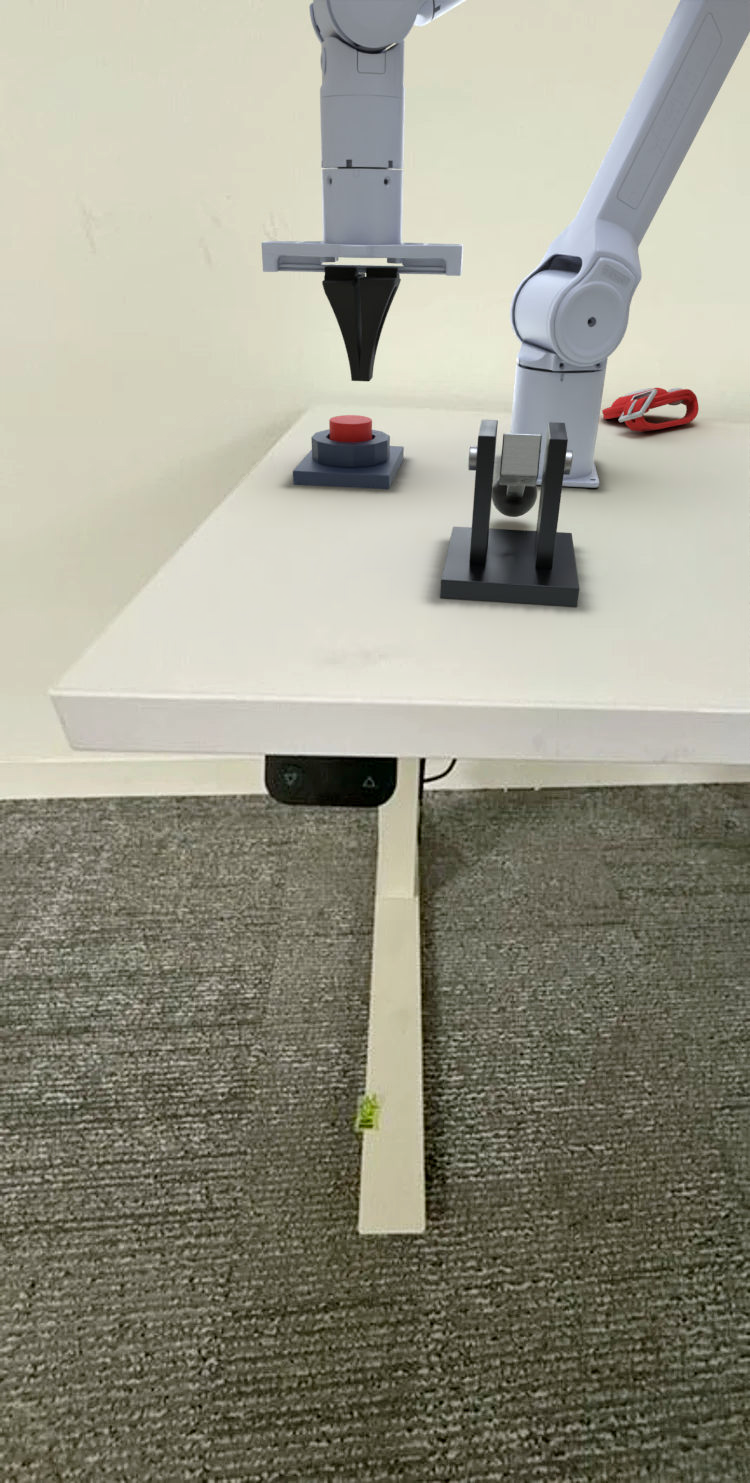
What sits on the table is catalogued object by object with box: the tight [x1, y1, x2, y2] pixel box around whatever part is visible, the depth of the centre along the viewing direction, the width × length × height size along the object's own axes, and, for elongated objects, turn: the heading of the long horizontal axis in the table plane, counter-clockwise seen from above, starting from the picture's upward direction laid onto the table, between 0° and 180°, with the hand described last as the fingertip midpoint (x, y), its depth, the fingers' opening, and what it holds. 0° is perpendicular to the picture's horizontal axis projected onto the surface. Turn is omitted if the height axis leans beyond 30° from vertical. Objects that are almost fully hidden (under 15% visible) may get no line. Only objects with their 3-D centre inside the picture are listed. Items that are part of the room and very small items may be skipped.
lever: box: [491, 432, 542, 518], centre depth 56 cm, size 13×3×3 cm, turn 172°
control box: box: [292, 428, 405, 490], centre depth 74 cm, size 10×8×3 cm
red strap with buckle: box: [601, 387, 699, 433], centre depth 91 cm, size 12×4×10 cm
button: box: [328, 414, 373, 442], centre depth 73 cm, size 4×4×2 cm
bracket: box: [439, 419, 580, 608], centre depth 53 cm, size 10×8×9 cm
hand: (362, 379), depth 67 cm, fingers closed
